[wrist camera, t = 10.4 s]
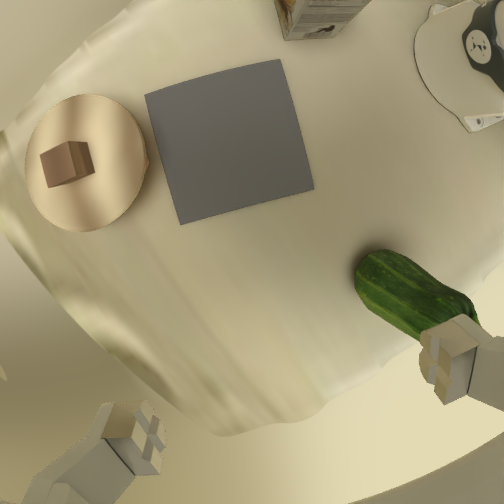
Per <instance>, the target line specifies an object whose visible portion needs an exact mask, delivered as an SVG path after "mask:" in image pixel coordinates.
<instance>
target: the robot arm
mask: <svg viewBox="0 0 504 504" xmlns="http://www.w3.org/2000/svg"><path fill="white" fill-rule="evenodd" d="M414 50H415V58H416V62H417V66H418V69H419V72H420V74H421V76H422V79H423V81H424V82H425V84H426V86H427V88H428V89H429V91H430V92H431V93H432V95H433V96H434V97H435V98H436V99H437V101H438V102H439V103H440V104H442V105H443V106H444V107H445V108H446V109H448V110H449V111H451V112H452V113H454V114H455V115H456V116H457V117H458V118H459V120H460V121H461V123H462V124H463V126H464V127H465V128H466V129H467V130H468V131H469V132H471V133H472V132H477V131H480V130H482V129H484V128H486V127H488V126H491V125H493V124H495V123H497V122H499V121H502V120H504V0H489V1H486V2H485V3H484V4H480V3H477V2H474V1H473V0H466V1H464V2H461V3H459V4H456V5H454V6H451V7H446V6H443V5H440V4H435V5H433V6H431V8H430V11H429V16H428V19H427V20H426V22H424V23H423V24H422V25H421V27H420V28H419V29H418V31H417V34H416V37H415V44H414ZM477 122H478V123H477ZM420 344H421V345H422V346H423V347H424V348H423V349H422V351H421V353H420V354H419V365H420V370H421V373H422V375H423V377H424V379H425V380H426V381H427V383H430V384H433V385H435V389H434V392H435V393H436V395H437V396H438V397H439V399H440V400H441V402H442V403H443V404H444V405H446V404H448V403H450V402H453V401H455V400H457V399H459V398H461V397H463V396H465V395H467V394H468V396H470V397H472V398H474V399H476V400H478V401H481V402H483V403H485V404H488V405H490V406H493V407H495V408H497V409H499V410H501V411H504V337H500V336H496V337H495V338H493V337H492V336H491V335H490V334H489V333H487V332H486V331H485V330H484V329H483V328H481V327H480V326H479V325H478V324H477V323H475V322H474V321H473V320H472V319H471V318H469V317H468V316H467V315H465V314H460V315H458V316H456V317H454V318H451V319H449V320H448V321H446V322H443V323H441V324H438V325H436V326H434V327H431V328H429V329H426V330H424V331H422V332H421V335H420ZM153 411H154V408H153V407H152V405H151V404H150V402H149V401H146V400H139V401H126V402H117V403H104V404H103V405H101V406H100V408H99V410H98V413H97V415H96V417H95V419H94V422H93V424H92V426H91V428H90V431H89V433H88V435H87V438H86V439H81V440H80V441H79V442H78V443H76V444H75V445H74V446H73V447H71V448H70V449H69V450H67V451H66V452H65V453H64V454H62V455H61V456H60V457H59V458H57V459H56V460H55V461H53V462H52V463H51V464H50V465H48V466H47V467H46V468H44V469H43V470H42V471H41V472H39V473H38V474H37V475H35V476H34V477H33V479H32V481H31V483H30V486H29V488H28V490H27V492H26V494H25V497H24V499H23V501H22V503H21V504H114V503H115V502H116V501H117V499H118V498H119V497H120V496H121V495H122V493H123V492H124V491H125V490H126V489H127V487H128V486H129V485H130V484H131V482H132V481H133V480H134V479H135V476H148V475H160V474H161V469H162V463H163V457H162V456H161V454H160V452H161V451H162V450H163V449H164V448H165V447H166V441H167V439H166V431H165V428H164V425H163V423H162V422H161V420H160V419H159V418H157V417H156V416H154V415H153ZM0 504H16V503H13V502H10V501H7V500H4V499H1V498H0ZM349 504H504V432H502V433H501V434H499V435H498V436H496V437H495V438H493V439H492V440H490V441H489V442H487V443H485V444H483V445H482V446H480V447H478V448H477V449H475V450H473V451H471V452H470V453H468V454H466V455H464V456H462V457H461V458H459V459H457V460H455V461H453V462H451V463H449V464H448V465H446V466H443V467H441V468H440V469H437V470H435V471H433V472H431V473H429V474H426V475H424V476H422V477H420V478H417V479H415V480H413V481H410V482H408V483H406V484H403V485H401V486H398V487H396V488H393V489H390V490H388V491H385V492H382V493H380V494H377V495H374V496H371V497H368V498H365V499H362V500H359V501H355V502H353V503H349Z"/></svg>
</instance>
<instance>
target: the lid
mask: <svg viewBox="0 0 504 504" xmlns="http://www.w3.org/2000/svg"><path fill="white" fill-rule="evenodd" d="M145 169H146V146H145V141H144V137H143V134H142V131H141V129H140V127H139V125H138V123H137V121H136V120H135V119H134V117H133V116H132V115H131V113H130V112H129V111H128V110H127V109H126V108H124V107H123V106H122V105H120V104H119V103H117V102H115V101H113V100H111V99H109V98H106V97H104V96H100V95H95V94H83V95H77V96H73V97H70V98H68V99H65V100H63V101H61V102H60V103H58V104H56V105H55V106H54V107H53V108H51V109H50V110H49V111H48V112H47V113H46V114H45V115H44V116H43V117H42V119H41V120H40V121H39V123H38V124H37V126H36V128H35V129H34V131H33V133H32V136H31V138H30V141H29V144H28V147H27V151H26V158H25V177H26V183H27V187H28V191H29V194H30V196H31V198H32V200H33V202H34V204H35V206H36V207H37V209H38V210H39V211H40V213H41V214H42V215H43V216H44V217H45V218H46V219H47V220H48V221H50V222H51V223H53V224H54V225H56V226H58V227H60V228H62V229H65V230H68V231H73V232H88V231H93V230H97V229H99V228H102V227H104V226H106V225H108V224H109V223H111V222H113V221H114V220H116V219H117V218H119V217H120V216H121V215H122V214H123V213H124V212H125V211H126V210H127V209H128V208H129V207H130V205H131V204H132V203H133V201H134V200H135V198H136V196H137V194H138V193H139V190H140V188H141V185H142V183H143V179H144V176H145Z"/></svg>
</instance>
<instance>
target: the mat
mask: <svg viewBox="0 0 504 504" xmlns="http://www.w3.org/2000/svg"><path fill="white" fill-rule="evenodd" d="M144 96H145V100H146V104H147V108H148V112H149V116H150V120H151V123H152V127H153V131H154V135H155V139H156V142H157V146H158V150H159V153H160V157H161V161H162V164H163V168H164V171H165V175H166V178H167V182H168V185H169V189H170V192H171V195H172V199H173V202H174V205H175V209H176V212H177V215H178V218H179V222H180V225H183V224H186V223H190V222H193V221H197V220H200V219H204V218H207V217H211V216H215V215H218V214H222V213H225V212H229V211H233V210H236V209H240V208H244V207H247V206H251V205H255V204H259V203H263V202H266V201H270V200H274V199H278V198H282V197H286V196H290V195H294V194H298V193H302V192H306V191H310V190H314V185H313V180H312V176H311V172H310V168H309V164H308V159H307V155H306V151H305V147H304V143H303V139H302V135H301V131H300V128H299V124H298V120H297V116H296V113H295V109H294V105H293V102H292V98H291V95H290V91H289V87H288V84H287V81H286V77H285V74H284V70H283V67H282V64H281V60H280V59H277V60H271V61H266V62H261V63H256V64H251V65H247V66H242V67H238V68H233V69H229V70H225V71H221V72H217V73H213V74H210V75H206V76H202V77H199V78H195V79H192V80H188V81H185V82H182V83H178V84H175V85H172V86H169V87H166V88H163V89H160V90H157V91H154V92H151V93H148V94H145V95H144Z"/></svg>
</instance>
